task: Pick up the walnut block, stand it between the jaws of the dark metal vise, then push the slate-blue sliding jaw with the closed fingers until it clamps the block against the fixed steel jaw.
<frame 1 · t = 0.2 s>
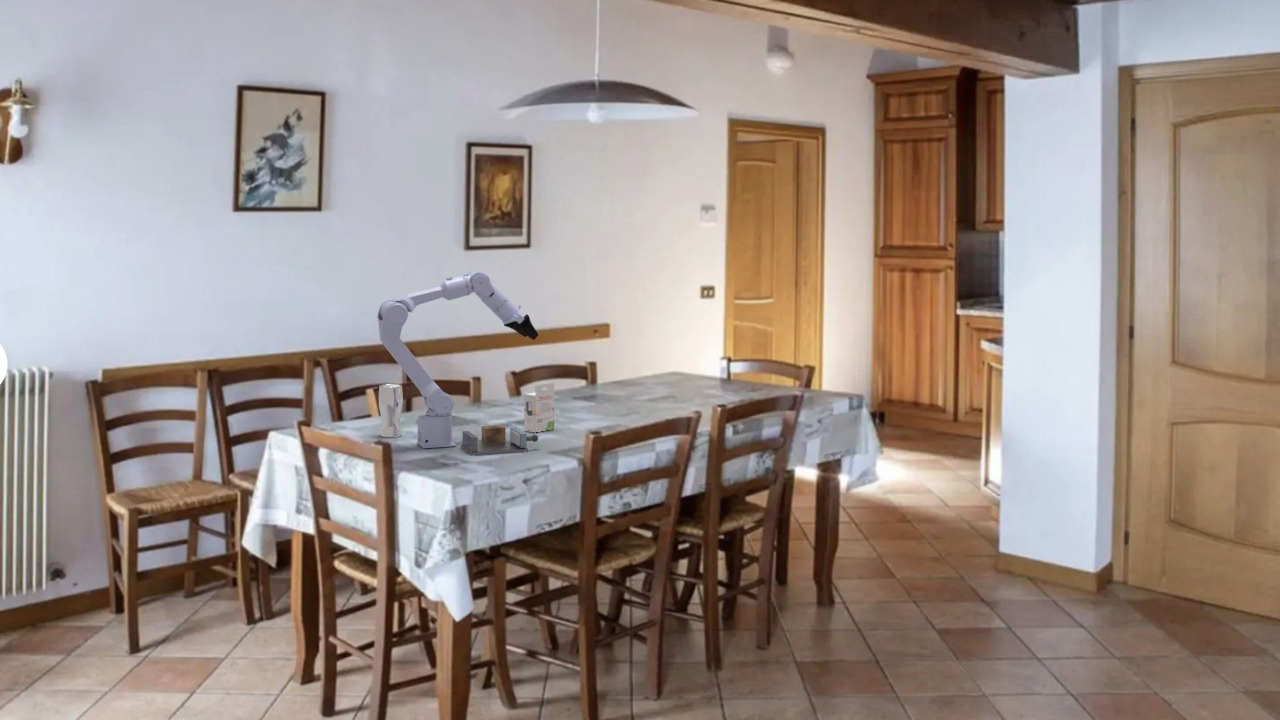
hand: (531, 336, 332), 31 cm above the table, tool tilted 45°, fingers open, 7 cm apart
slide jaw: (524, 437, 323), point 3 cm above the table, slide at 0.0 cm
ink box: (539, 431, 349), on the table
beer glass: (391, 436, 337), on the table
vise: (494, 449, 320), on the table
block: (493, 442, 331), on the table
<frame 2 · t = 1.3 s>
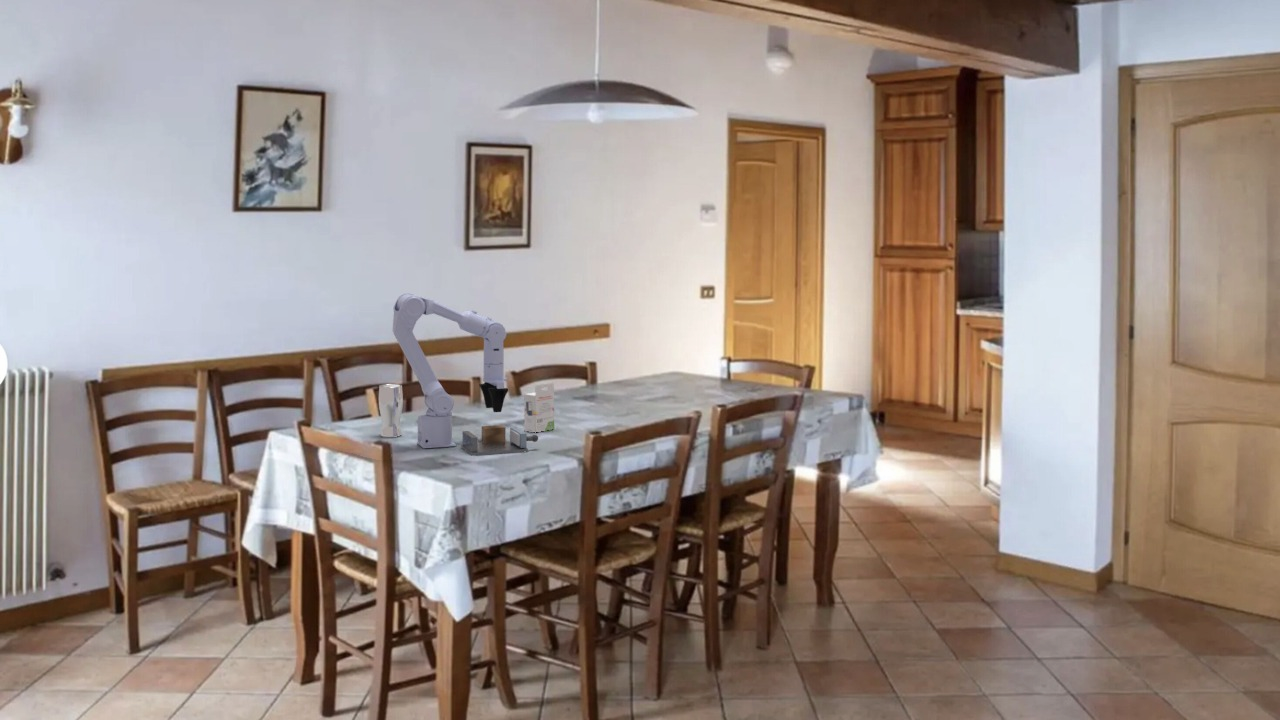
hand: (493, 409, 330), 9 cm above the table, tool pointing down, fingers open, 7 cm apart
nothing on the table moved.
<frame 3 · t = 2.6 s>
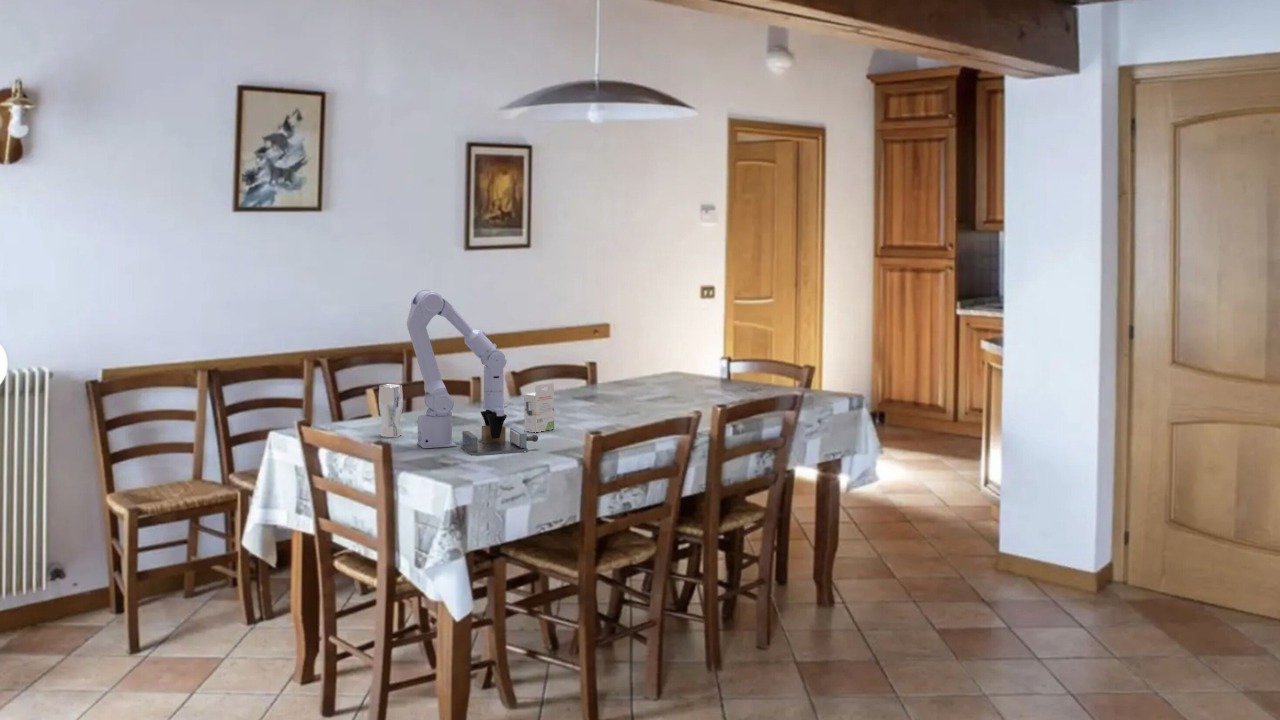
hand: (493, 436, 331), 1 cm above the table, tool pointing down, fingers closed on block, 4 cm apart
block: (493, 441, 331), on the table, touching gripper
everything else where it was.
when the fingers open (3 cm above the table, at t = 6.6 s): block stays where it is, resting on vise.
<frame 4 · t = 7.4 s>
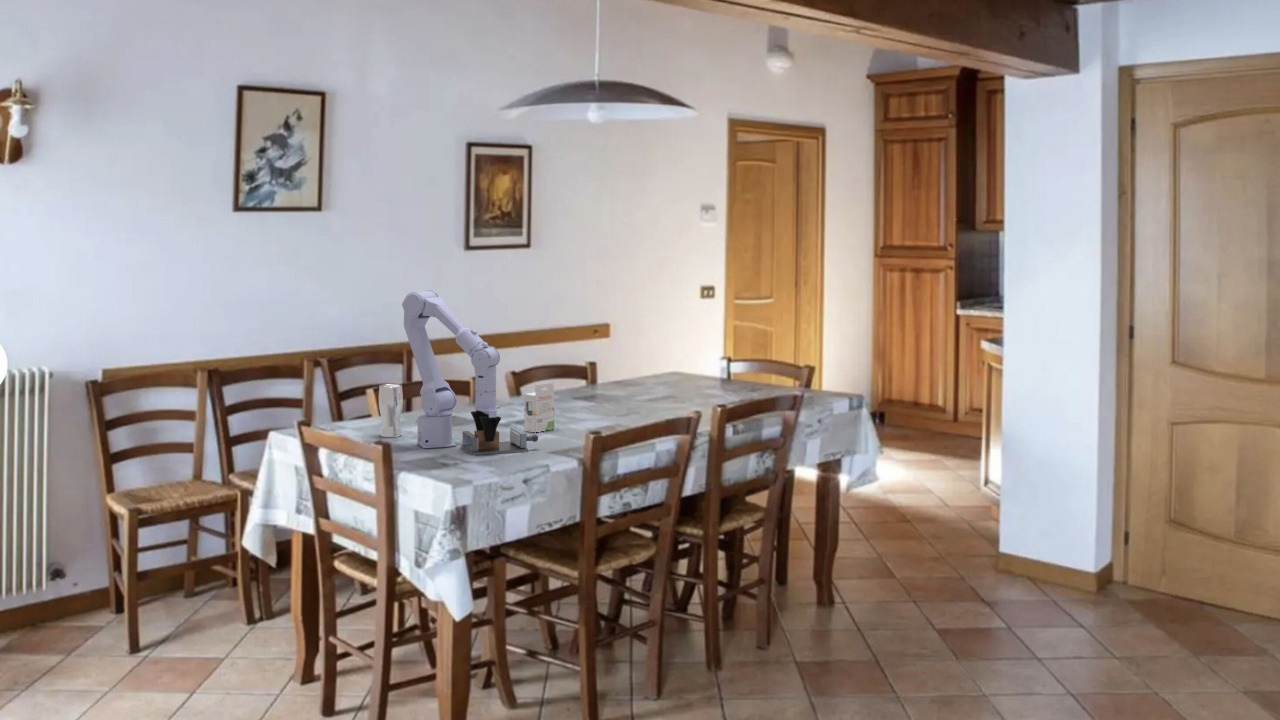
hand: (485, 438, 318), 3 cm above the table, tool pointing down, fingers open, 7 cm apart
block: (486, 447, 319), point 1 cm above the table, touching vise
everything else where it was.
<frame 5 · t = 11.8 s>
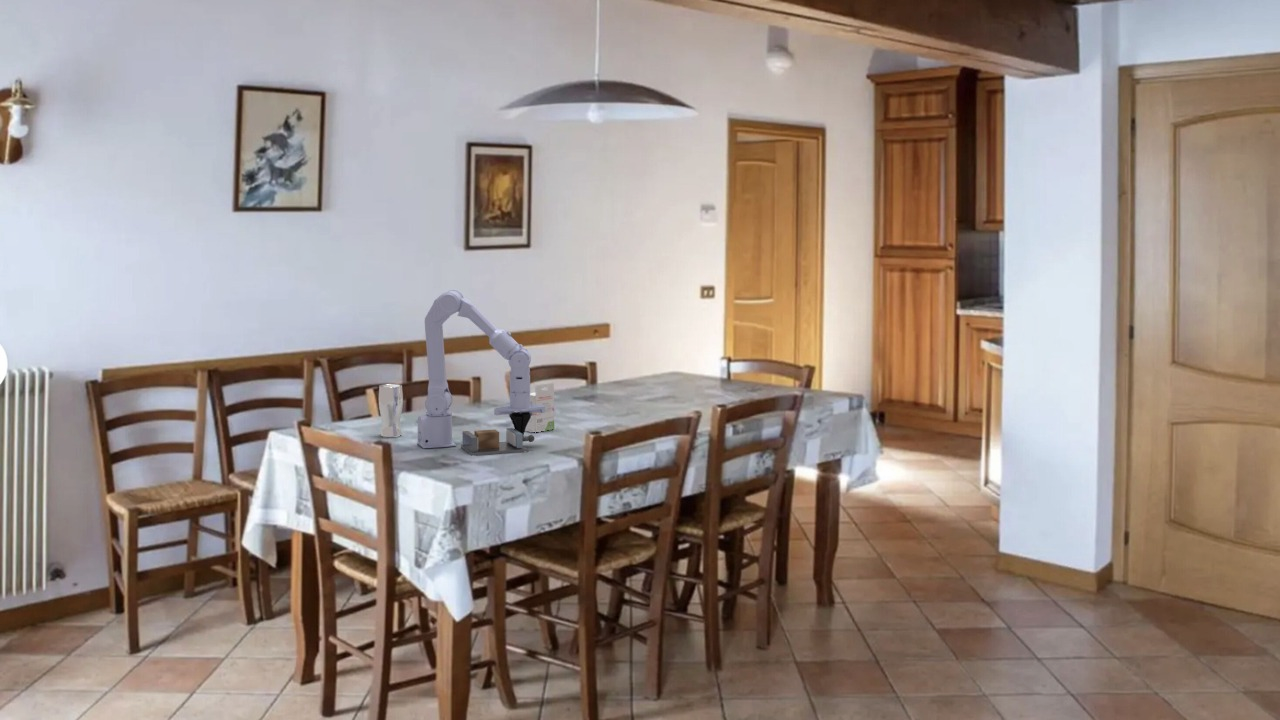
hand: (519, 438, 324), 2 cm above the table, tool pointing down, fingers closed
slide jaw: (520, 437, 322), point 3 cm above the table, slide at 1.1 cm, touching gripper
everything else where it was.
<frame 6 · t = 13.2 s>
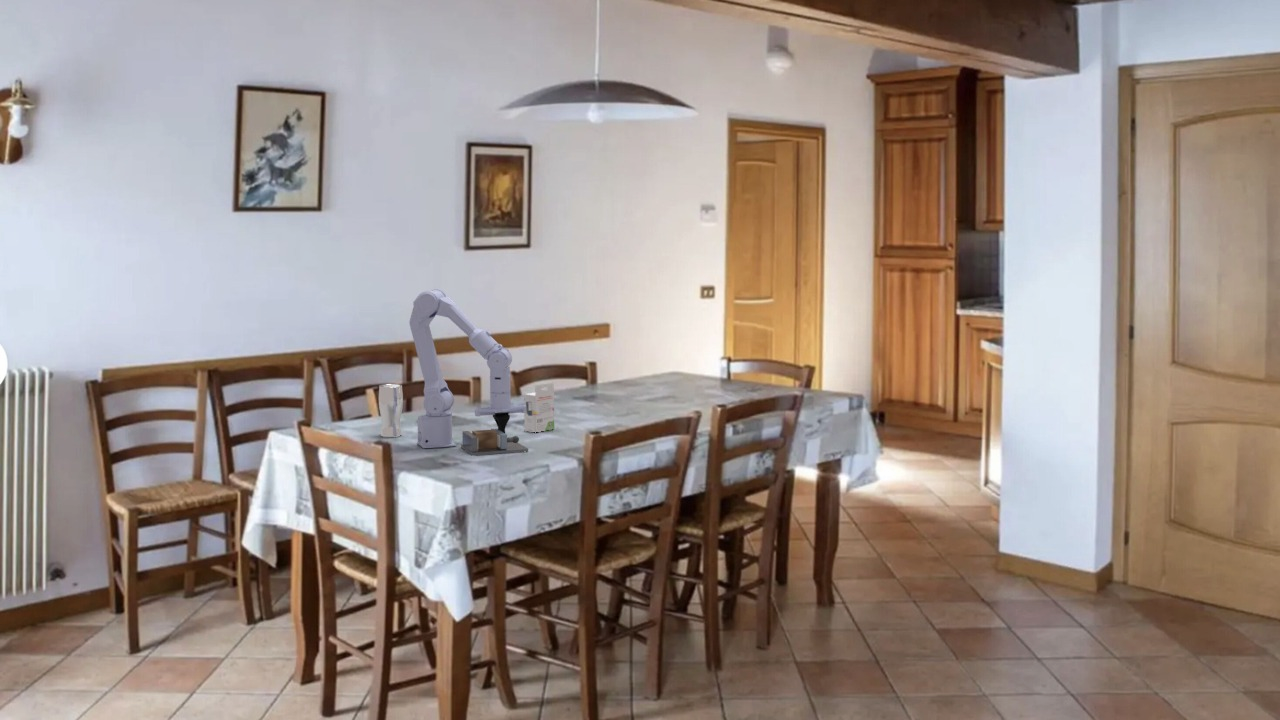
hand: (501, 439, 322), 2 cm above the table, tool pointing down, fingers closed, pressing on slide jaw
slide jaw: (505, 438, 320), point 3 cm above the table, slide at 5.6 cm, touching block, gripper
block: (484, 447, 318), point 1 cm above the table, touching slide jaw, vise
everything else where it was.
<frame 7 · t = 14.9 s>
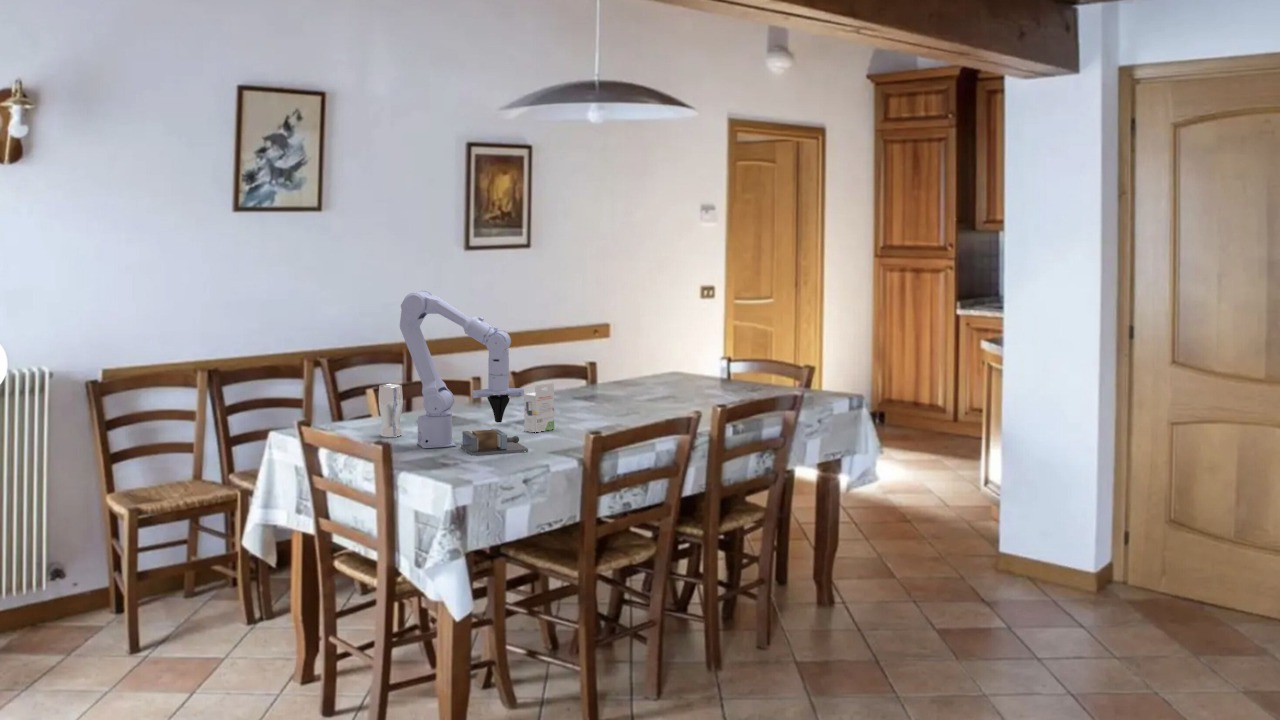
hand: (498, 421, 321), 7 cm above the table, tool pointing down, fingers closed
slide jaw: (505, 438, 321), point 3 cm above the table, slide at 5.6 cm
block: (484, 447, 318), point 1 cm above the table, touching vise
everything else where it was.
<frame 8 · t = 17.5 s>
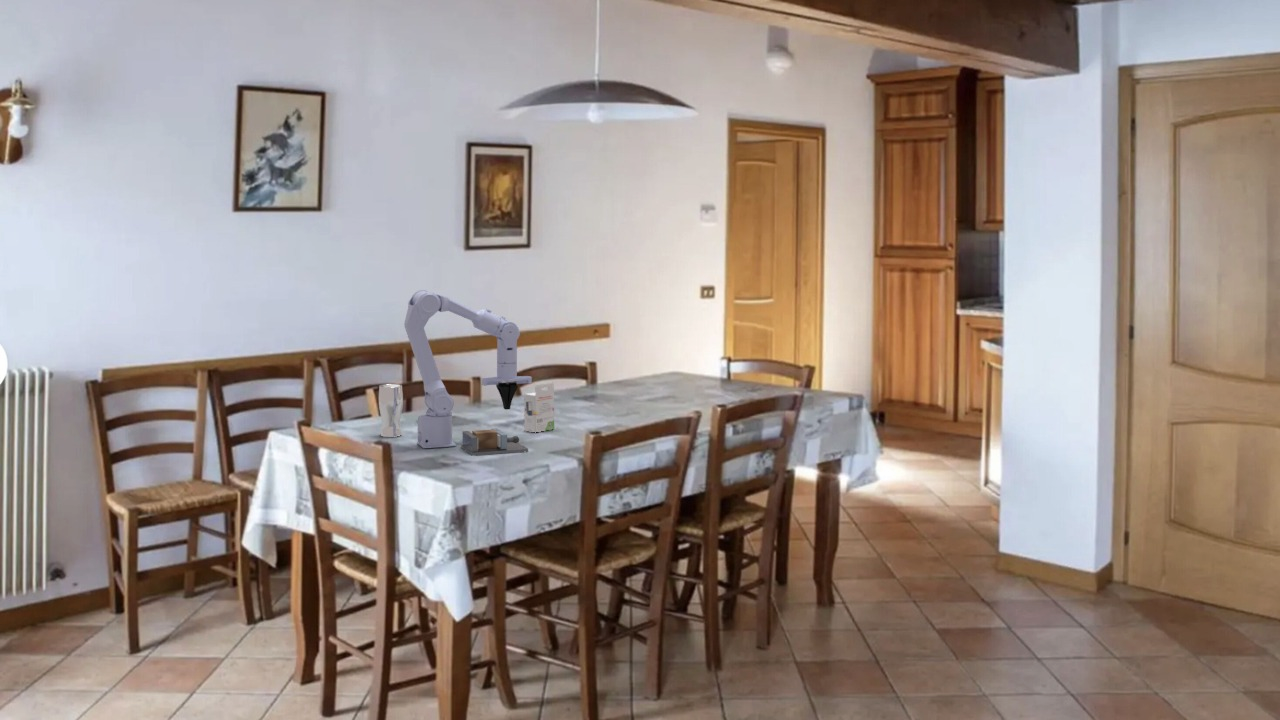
hand: (506, 408, 331), 9 cm above the table, tool pointing down, fingers closed
nothing on the table moved.
at the end: slide jaw slide at 5.6 cm; block 0.5 cm from the target spot, point 0.8 cm above the table; block tilted 0° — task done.
